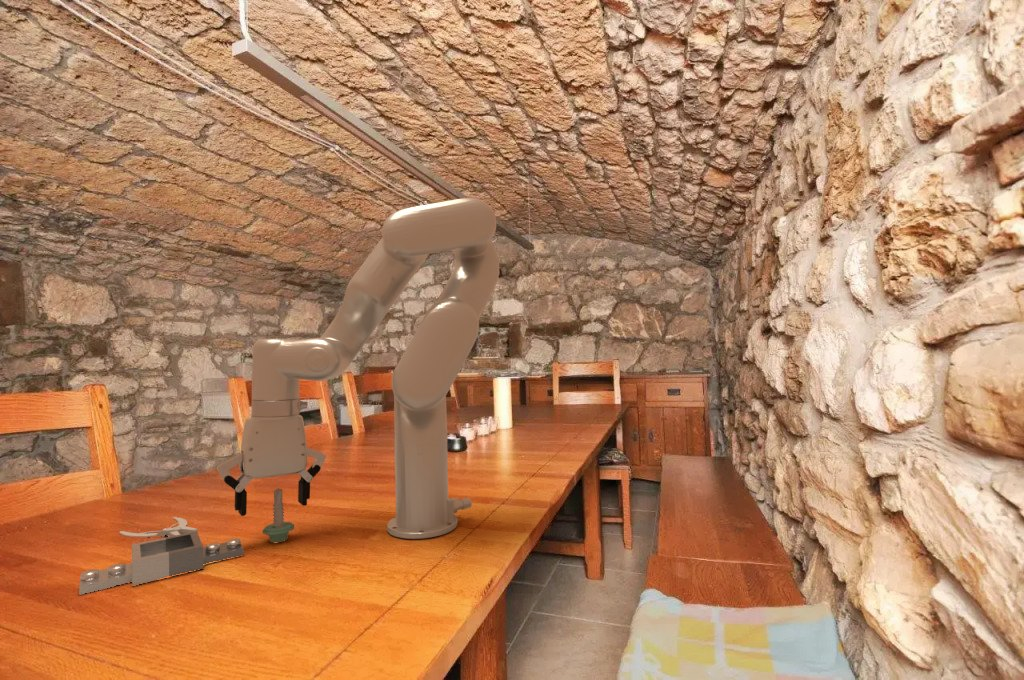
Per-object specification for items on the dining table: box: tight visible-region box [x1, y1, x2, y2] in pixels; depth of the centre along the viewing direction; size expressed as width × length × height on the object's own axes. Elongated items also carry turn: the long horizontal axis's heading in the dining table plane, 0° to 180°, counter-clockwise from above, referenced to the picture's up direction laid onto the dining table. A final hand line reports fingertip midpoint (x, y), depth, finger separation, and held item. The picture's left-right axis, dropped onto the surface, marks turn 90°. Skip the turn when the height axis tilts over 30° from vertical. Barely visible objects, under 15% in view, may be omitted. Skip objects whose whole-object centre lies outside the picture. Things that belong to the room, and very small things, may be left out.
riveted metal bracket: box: [78, 531, 245, 596], centre depth 76 cm, size 20×8×4 cm, turn 128°
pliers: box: [118, 516, 199, 537], centre depth 92 cm, size 10×2×15 cm
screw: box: [262, 488, 295, 543], centre depth 87 cm, size 9×5×5 cm
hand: (273, 508), depth 87 cm, fingers open, 9 cm apart
